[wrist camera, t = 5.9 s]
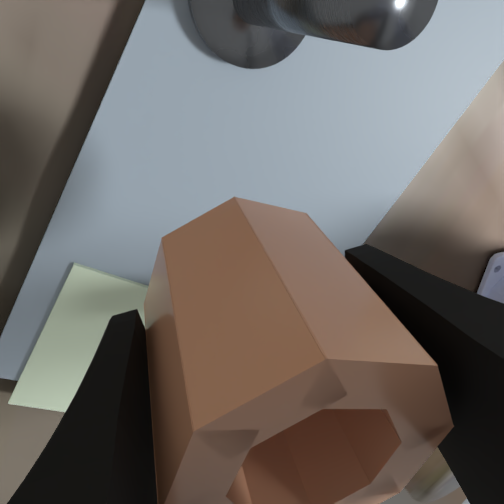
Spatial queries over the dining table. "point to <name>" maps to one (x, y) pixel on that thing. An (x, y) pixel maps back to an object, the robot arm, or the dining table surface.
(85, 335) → the pad
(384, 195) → the board
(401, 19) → the posts
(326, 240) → the octagonal hollow tube
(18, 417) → the dining table surface
